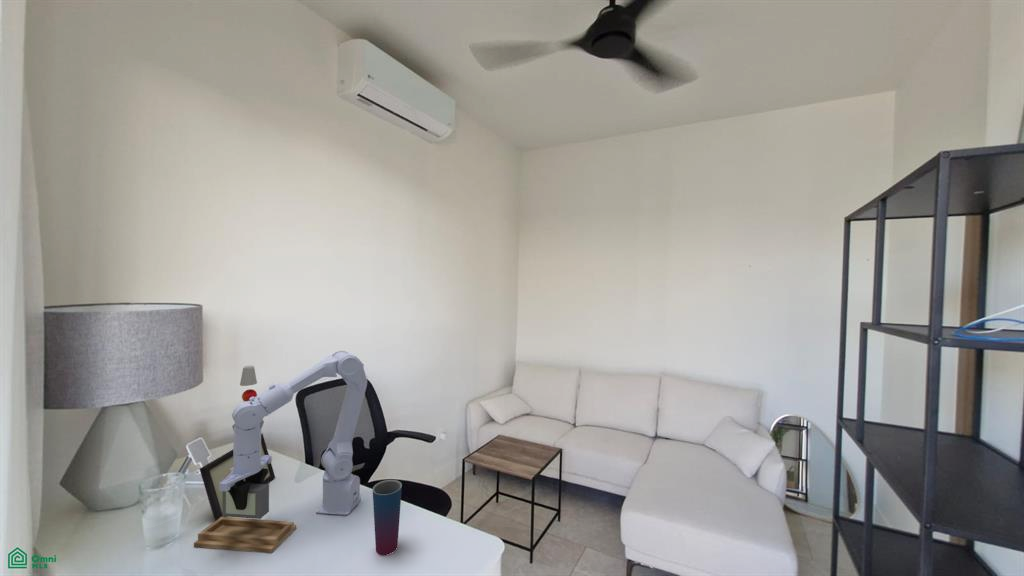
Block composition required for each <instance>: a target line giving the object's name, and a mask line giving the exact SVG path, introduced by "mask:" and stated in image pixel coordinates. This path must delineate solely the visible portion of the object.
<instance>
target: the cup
mask: <svg viewBox="0 0 1024 576" xmlns="http://www.w3.org/2000/svg"><path fill="white" fill-rule="evenodd" d="M402 488H403V484H402V482H401V481H399V480H398V479H397V480H396V479H387V480H386V479H385V480H382V481H379V482H378V483H376V484H374V486H373V487H372V506H373V522H374V539H375V542H374V543H375V551H376V554H377V555H380V556H388V555H387V554H389V555H391V554H393V553H394V552H395V551H397V549H398V547H397V546H399V545H398V544H399V533H400V531H399V530H400V516H401V503H402V491H403V490H402ZM396 548H397V549H396ZM392 552H393V553H392ZM390 553H391V554H390Z"/></svg>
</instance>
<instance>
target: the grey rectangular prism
mask: <svg viewBox="0 0 1024 576" xmlns="http://www.w3.org/2000/svg"><path fill="white" fill-rule="evenodd" d="M269 512H270V484H269V483H267V484H255V483H252V484H251V486H250V488H249V492H248V497H247V506H246V509H244V510H236V507H235V504H234V501H233V499H232V497H231V495H230V493H229V492H228V491H227V492H226V491H223V493H222V516H225V517H232V518H246V519H261V520H262V518H263V517H264V516H266V515H267V514H268V513H269Z"/></svg>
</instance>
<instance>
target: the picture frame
mask: <svg viewBox="0 0 1024 576" xmlns="http://www.w3.org/2000/svg"><path fill="white" fill-rule="evenodd" d="M264 455H269V451H268V448H267V445H266V440H265V437H264V434H263V433H261V457H262V456H264ZM232 467H233V449H230V450H229V451H228V452H226V453H224V454H222V455H221V456H219V457H217V458H216V459H214V460H212V461H211V462H209V463H207V464H205V465H204V466H201V467H200V468H199V472H200V475H201V479H202V482H203V485H204V489H205V492H206V496H207V499H208V503H209V506H210V509H211V513H212V516H213V519H214V520H213V521H214V522H215V521H216V520H218V519H219V518H221V517H225V516H222V493H223V491H219V483H220V482H222V481H223V480H224V479H225V478H226V477H227V476H228V475H229V474H230V473H231V472H230V469H231V468H232ZM263 468H264V469H268V474H267V475H266V477H265V479H264V481H263V483H262V484H269V483H270V482H271V481H272V480H274V479H275V478H276V475H275V471H274V468H273V464H272V462H271V463H270V464H266V465H264V467H263ZM244 481H245V478H244Z"/></svg>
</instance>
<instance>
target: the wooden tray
mask: <svg viewBox="0 0 1024 576" xmlns="http://www.w3.org/2000/svg"><path fill="white" fill-rule="evenodd" d="M294 523H295V522H294V521H288V520H287V521H286V520H276V519H275V520H272V519H262V518H261V519H254V518H240V517H221V518H219V519H218V520H216V521H215V520H214V522H212V523H211V524H209V525H208V526H207V527H205V528H204V529H203V530H201V531H200V532H198V533H197V540H196V541H195V542H193V548H203V549H214V550H227V551H228V550H229V551H238V552H239V551H240V552H252V553H253V552H254V553H266V554H272V553H273V552H275V550H277V548H278V547H280V546H281V544H283V542H285V541H286V540H287V539H288V537H290V536H291V535H292V534H293V533H294V531H296V530H297V524H294Z"/></svg>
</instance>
